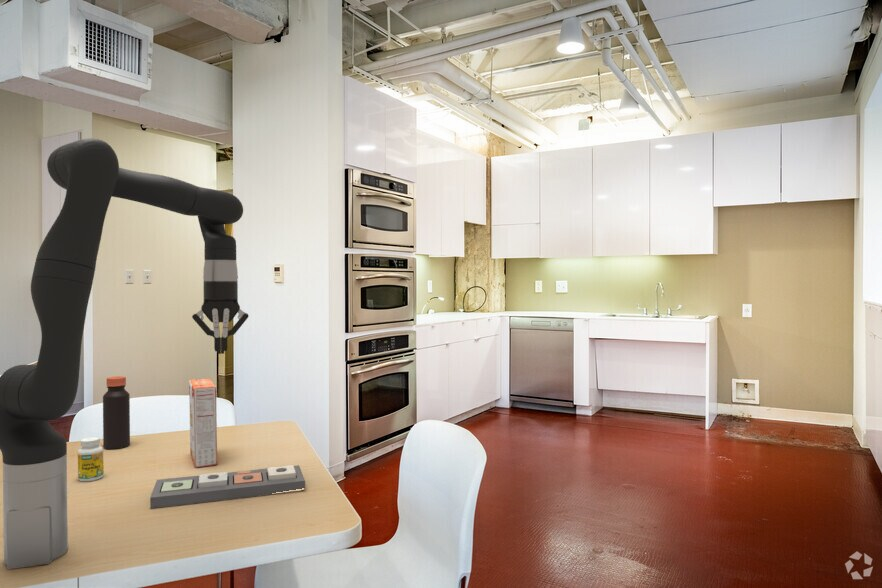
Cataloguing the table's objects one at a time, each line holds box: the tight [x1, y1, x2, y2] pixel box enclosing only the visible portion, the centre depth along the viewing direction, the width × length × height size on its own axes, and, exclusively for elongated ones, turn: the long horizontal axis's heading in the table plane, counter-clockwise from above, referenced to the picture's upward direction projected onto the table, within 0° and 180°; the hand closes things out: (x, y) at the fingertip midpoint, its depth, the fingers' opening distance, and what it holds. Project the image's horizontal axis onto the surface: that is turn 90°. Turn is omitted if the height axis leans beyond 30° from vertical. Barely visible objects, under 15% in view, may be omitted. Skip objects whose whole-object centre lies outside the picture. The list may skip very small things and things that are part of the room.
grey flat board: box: [149, 464, 306, 509], centre depth 135 cm, size 12×32×2 cm, turn 110°
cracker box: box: [188, 378, 218, 469], centre depth 158 cm, size 14×6×21 cm, turn 27°
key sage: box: [161, 480, 193, 492], centre depth 132 cm, size 6×6×2 cm
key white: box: [198, 471, 228, 488], centre depth 134 cm, size 6×6×2 cm
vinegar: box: [102, 375, 131, 450], centre depth 171 cm, size 7×7×20 cm
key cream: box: [266, 464, 296, 481], centre depth 139 cm, size 6×6×2 cm
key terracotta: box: [234, 472, 262, 485], centre depth 137 cm, size 6×6×2 cm
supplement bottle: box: [77, 436, 105, 482], centre depth 143 cm, size 5×5×10 cm
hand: (221, 353), depth 139 cm, fingers closed
